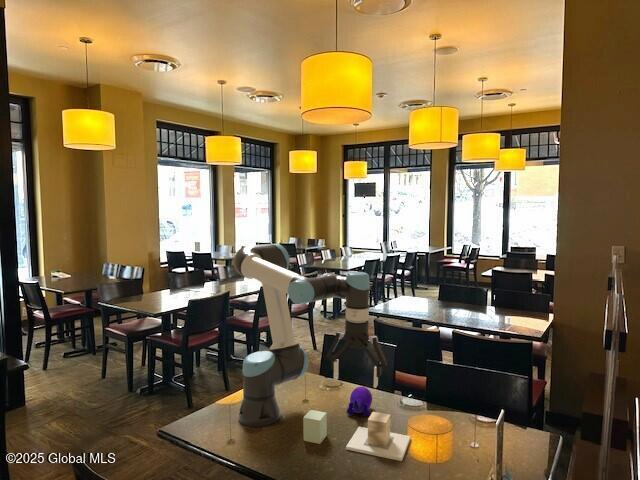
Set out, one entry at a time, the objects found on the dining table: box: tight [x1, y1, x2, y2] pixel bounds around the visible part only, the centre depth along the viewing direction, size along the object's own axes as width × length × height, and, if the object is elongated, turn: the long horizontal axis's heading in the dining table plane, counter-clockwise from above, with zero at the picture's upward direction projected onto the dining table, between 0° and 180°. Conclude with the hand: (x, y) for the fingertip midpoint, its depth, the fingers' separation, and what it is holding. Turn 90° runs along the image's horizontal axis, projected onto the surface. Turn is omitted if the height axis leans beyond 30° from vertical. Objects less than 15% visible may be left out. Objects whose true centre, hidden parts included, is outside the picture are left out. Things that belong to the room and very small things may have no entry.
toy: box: [346, 386, 373, 418], centre depth 167 cm, size 9×10×15 cm
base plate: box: [345, 426, 412, 462], centre depth 145 cm, size 18×14×1 cm
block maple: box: [367, 411, 391, 447], centre depth 144 cm, size 6×6×8 cm
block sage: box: [302, 409, 328, 445], centre depth 149 cm, size 6×6×8 cm
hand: (355, 382), depth 145 cm, fingers open, 13 cm apart
